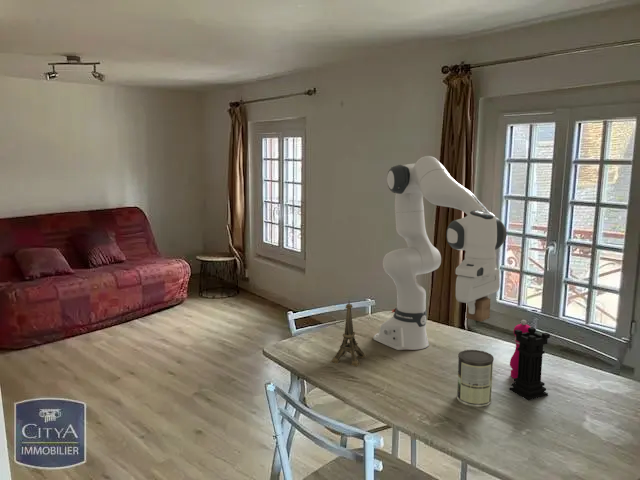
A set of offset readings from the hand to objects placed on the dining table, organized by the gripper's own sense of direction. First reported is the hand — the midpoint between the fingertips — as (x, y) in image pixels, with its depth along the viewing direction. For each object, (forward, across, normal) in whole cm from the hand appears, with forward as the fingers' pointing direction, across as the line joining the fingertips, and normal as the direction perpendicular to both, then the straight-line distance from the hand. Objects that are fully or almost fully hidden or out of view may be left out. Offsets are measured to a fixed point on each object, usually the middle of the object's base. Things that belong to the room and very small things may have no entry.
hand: (477, 311), depth 156 cm
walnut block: (+2, 0, 0) cm, 2 cm away
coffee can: (+28, 0, 0) cm, 28 cm away
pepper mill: (+28, -26, +3) cm, 39 cm away
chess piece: (+28, -16, +10) cm, 34 cm away
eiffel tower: (+28, +3, -49) cm, 57 cm away
